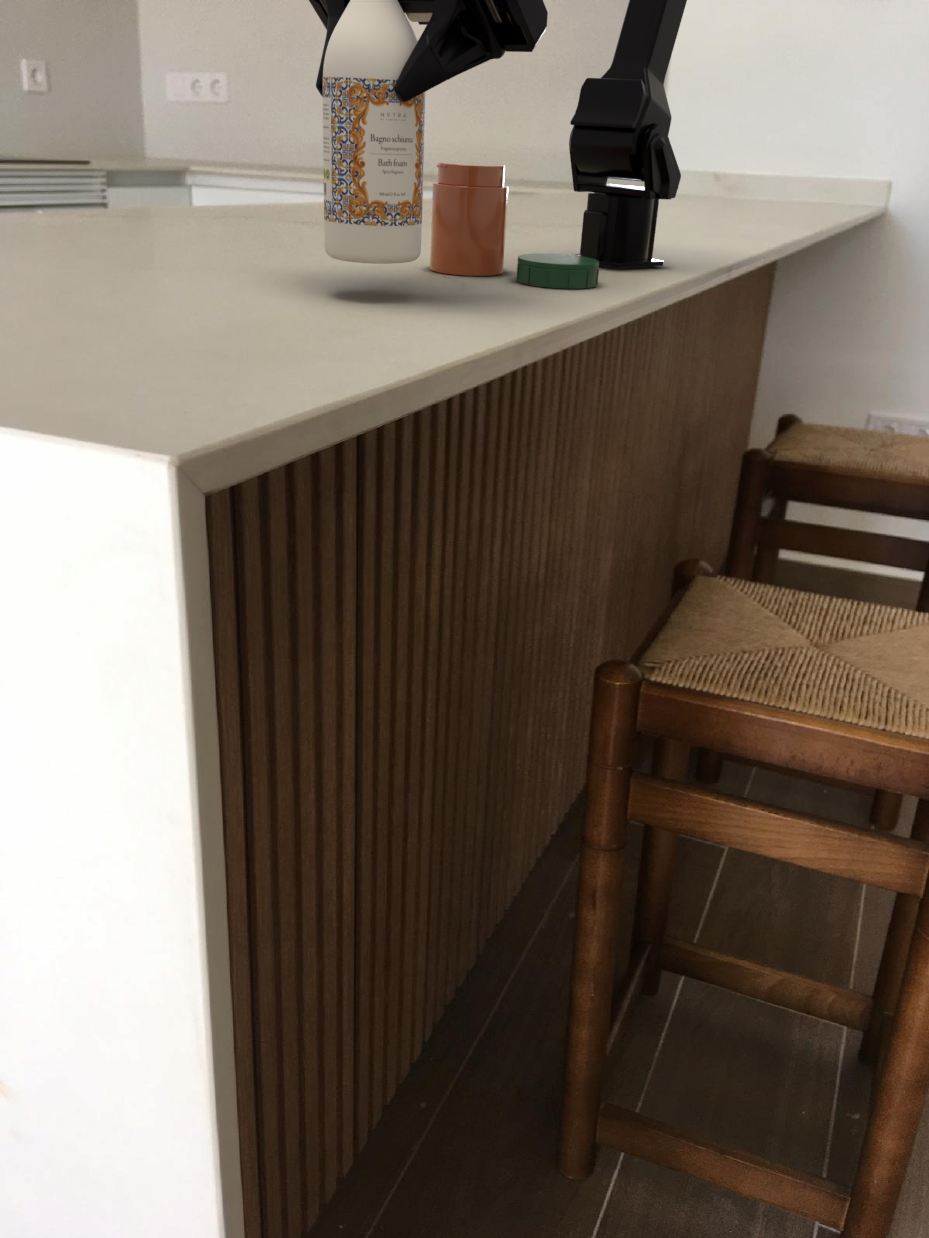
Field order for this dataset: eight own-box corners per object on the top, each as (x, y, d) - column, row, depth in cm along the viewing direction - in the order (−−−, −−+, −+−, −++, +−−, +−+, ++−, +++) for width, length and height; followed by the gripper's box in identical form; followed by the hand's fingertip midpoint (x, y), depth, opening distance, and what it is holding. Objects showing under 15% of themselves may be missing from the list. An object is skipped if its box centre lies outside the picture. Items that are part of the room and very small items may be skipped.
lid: (501, 277, 91) (503, 254, 90) (569, 276, 94) (571, 253, 93) (542, 290, 85) (544, 265, 85) (612, 288, 88) (615, 264, 88)
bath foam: (344, 266, 73) (342, -80, 65) (311, 252, 79) (306, -67, 70) (436, 264, 76) (446, -67, 68) (398, 251, 82) (404, -56, 73)
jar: (475, 264, 98) (480, 162, 94) (517, 274, 93) (525, 167, 89) (415, 267, 94) (419, 160, 90) (457, 277, 89) (462, 166, 86)
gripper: (315, -179, 74) (195, -10, 71) (535, -213, 63) (406, -16, 60) (391, -32, 83) (288, 123, 80) (595, -41, 72) (485, 138, 69)
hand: (358, 94), depth 72 cm, fingers closed on bath foam, 7 cm apart
